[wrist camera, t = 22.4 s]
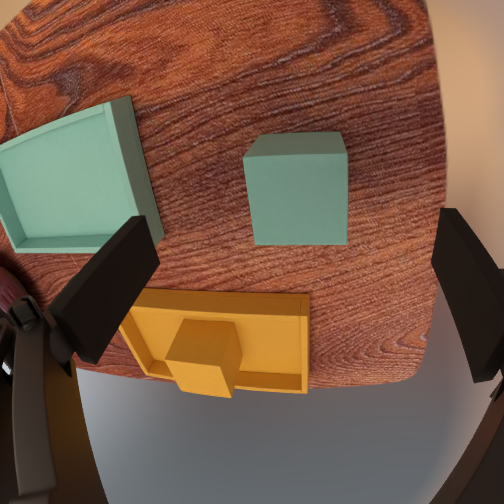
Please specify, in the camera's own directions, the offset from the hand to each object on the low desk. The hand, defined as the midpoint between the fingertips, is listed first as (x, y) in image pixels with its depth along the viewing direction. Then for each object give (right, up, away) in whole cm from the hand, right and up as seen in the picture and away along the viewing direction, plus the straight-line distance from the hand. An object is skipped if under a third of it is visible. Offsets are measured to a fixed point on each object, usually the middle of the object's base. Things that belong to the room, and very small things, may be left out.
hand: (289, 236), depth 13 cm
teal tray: (-18, +5, +10) cm, 21 cm away
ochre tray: (-5, -9, +17) cm, 20 cm away
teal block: (+2, +5, +6) cm, 8 cm away
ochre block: (-5, -9, +16) cm, 19 cm away
